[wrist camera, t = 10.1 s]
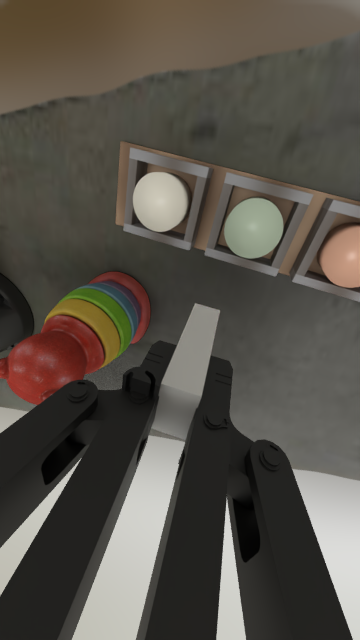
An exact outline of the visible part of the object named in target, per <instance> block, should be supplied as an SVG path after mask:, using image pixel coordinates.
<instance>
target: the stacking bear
mask: <svg viewBox="0 0 360 640" xmlns="http://www.w3.org/2000/svg"><path fill="white" fill-rule="evenodd" d="M149 321H150V302H149V298H148V296H147V293H146V292H145V290H144V288H143V287H142V286H141V285H140V284H139V283H138V282H137V281H136V280H135V279H134V278H132V277H130V276H129V275H127V274H124V273H121V272H107V273H104V274H101V275H99V276H97V277H96V278H94V279H93V280H91V281H90V282H89V283H88V284H87V285H84V286H81V287H79V288H77V289H75V290H73V291H72V292H70V293H69V294H67V295H66V296H65V297H64V298H63V299H62V300H61V301H60V302H59V303H58V304H57V305H56V306H55V307H54V308H53V309H52V311H51V312H50V313H49V314H48V316H47V317H46V319H45V322H44V325H43V327H42V330H41V333H39V334H36V335H33V336H30V337H28V338H26V339H24V340H23V341H21V342H20V343H19V344H17V345H16V346H15V347H14V348H13V350H12V351H11V352H10V354H9V356H8V357H6V358H2V359H0V378H3V379H6V380H7V383H8V385H9V387H10V388H11V389H12V391H13V392H14V393H15V394H16V395H18V396H19V397H20V398H22V399H24V400H26V401H28V402H30V403H33V404H36V405H39V404H40V403H41V402H43V401H44V400H45V399H47V398H48V397H49V396H51V395H52V394H53V393H55V392H56V391H57V390H59V389H60V388H61V387H63V386H64V385H65V384H67V383H69V382H71V381H75V380H83V377H84V375H85V374H89V373H93V372H95V371H97V370H98V369H100V368H102V367H104V366H105V365H107V364H108V363H110V362H111V361H112V360H114V359H116V358H117V357H118V356H119V355H121V354H122V353H123V352H124V351H125V350H126V349H127V347H128V346H129V344H133V343H136V342H138V341H139V340H140V339H141V338H142V337H143V335H144V334H145V332H146V330H147V328H148V325H149Z"/></svg>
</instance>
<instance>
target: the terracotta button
mask: <svg viewBox="0 0 360 640" xmlns="http://www.w3.org/2000/svg"><path fill="white" fill-rule="evenodd" d="M317 261H318V264H319V266H320V267H321V269H322V270H323V272H324V273H325V275H326V276H327V277H328V279H329V280H330V281H331V282H333V283H334V284H336V285H339V286H342V287H348V288H354V287H360V223H347V224H343V225H340V226H338V227H336V228H334V229H333V230H331V231H330V232H329V233H328V234H327V235H326V236H325V238H324V240H323V242H322V244H321V246H320V247H319V249H318V251H317Z"/></svg>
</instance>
